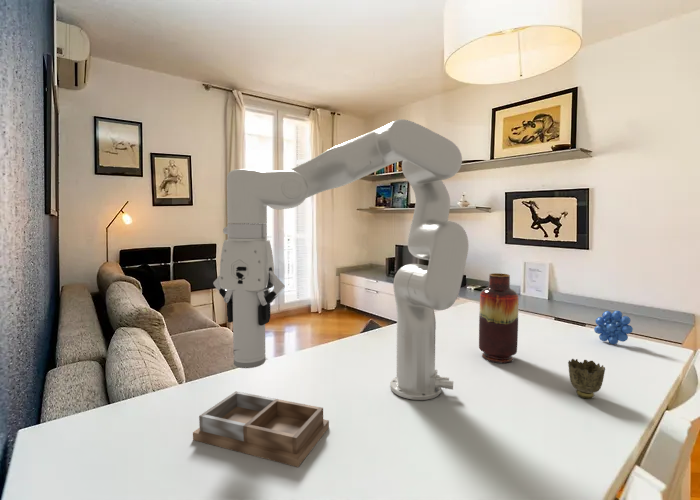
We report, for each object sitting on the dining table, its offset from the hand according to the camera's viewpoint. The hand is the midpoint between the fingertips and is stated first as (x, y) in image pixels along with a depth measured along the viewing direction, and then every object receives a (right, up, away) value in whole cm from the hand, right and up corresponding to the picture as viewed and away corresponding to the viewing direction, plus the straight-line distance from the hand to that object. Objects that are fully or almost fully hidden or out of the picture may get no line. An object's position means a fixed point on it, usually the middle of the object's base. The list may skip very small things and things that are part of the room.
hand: (248, 321), depth 73 cm
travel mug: (0, -9, +1) cm, 9 cm away
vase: (+66, -19, +39) cm, 80 cm away
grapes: (+112, -18, +52) cm, 125 cm away
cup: (+77, -21, +14) cm, 81 cm away
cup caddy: (+3, -22, -1) cm, 22 cm away
